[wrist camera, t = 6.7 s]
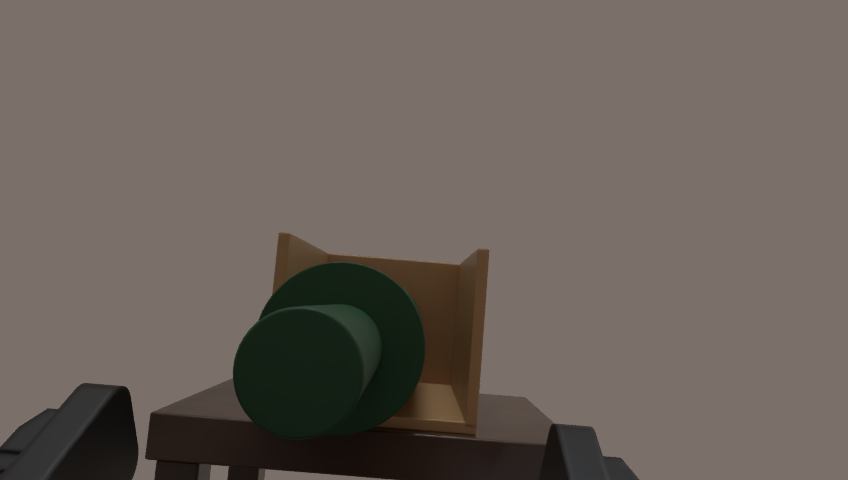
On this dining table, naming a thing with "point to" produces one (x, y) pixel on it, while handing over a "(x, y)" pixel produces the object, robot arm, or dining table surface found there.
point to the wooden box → (425, 329)
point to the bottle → (330, 353)
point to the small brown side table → (344, 444)
